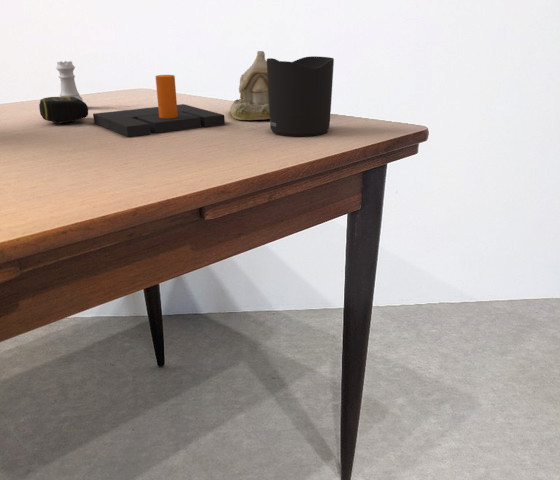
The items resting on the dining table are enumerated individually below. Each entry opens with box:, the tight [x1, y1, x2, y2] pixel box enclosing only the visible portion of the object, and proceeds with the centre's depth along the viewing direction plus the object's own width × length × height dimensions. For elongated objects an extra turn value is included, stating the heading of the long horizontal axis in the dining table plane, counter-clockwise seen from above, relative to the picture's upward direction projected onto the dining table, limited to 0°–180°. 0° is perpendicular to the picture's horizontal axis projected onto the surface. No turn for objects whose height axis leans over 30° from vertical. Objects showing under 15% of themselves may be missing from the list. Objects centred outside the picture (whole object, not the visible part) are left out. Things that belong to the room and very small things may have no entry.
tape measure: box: [38, 96, 89, 125], centre depth 97 cm, size 7×7×4 cm
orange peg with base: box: [137, 74, 202, 134], centre depth 91 cm, size 8×6×8 cm
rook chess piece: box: [55, 60, 84, 102], centre depth 109 cm, size 4×4×8 cm
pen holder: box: [266, 55, 335, 137], centre depth 87 cm, size 9×9×10 cm
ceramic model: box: [229, 50, 270, 121], centre depth 101 cm, size 14×11×10 cm
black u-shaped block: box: [92, 103, 226, 138], centre depth 95 cm, size 16×14×2 cm
